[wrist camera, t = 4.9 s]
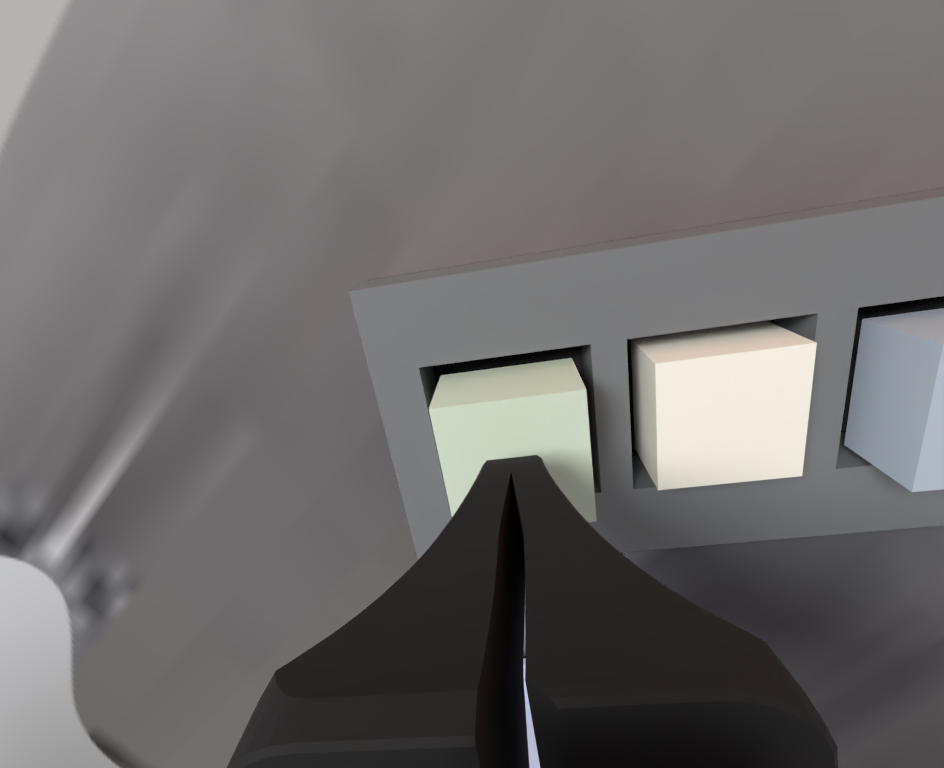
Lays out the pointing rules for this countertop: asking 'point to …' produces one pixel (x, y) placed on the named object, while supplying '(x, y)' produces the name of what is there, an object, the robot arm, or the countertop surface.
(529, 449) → the sage key
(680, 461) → the cream key
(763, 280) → the grey slotted tray
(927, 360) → the slate key
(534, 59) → the countertop surface
